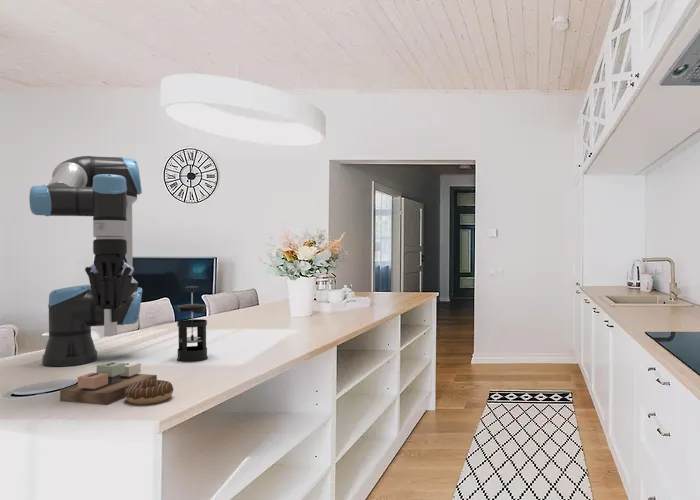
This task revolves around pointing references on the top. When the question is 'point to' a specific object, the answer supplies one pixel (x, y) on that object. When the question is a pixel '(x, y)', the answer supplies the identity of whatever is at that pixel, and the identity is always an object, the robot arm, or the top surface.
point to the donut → (148, 392)
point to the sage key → (111, 368)
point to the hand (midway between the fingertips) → (110, 335)
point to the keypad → (103, 390)
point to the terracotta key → (92, 380)
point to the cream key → (131, 369)
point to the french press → (197, 351)
